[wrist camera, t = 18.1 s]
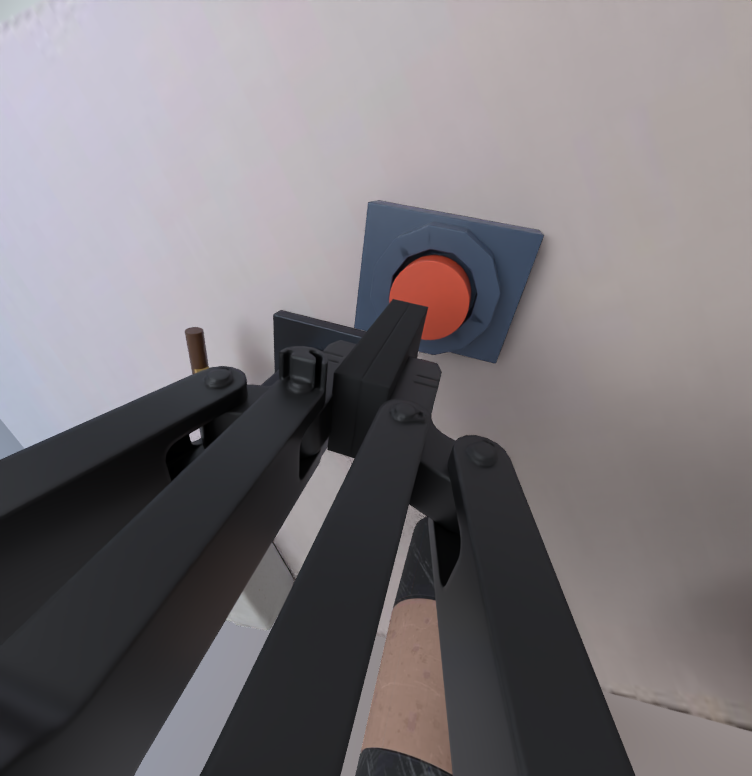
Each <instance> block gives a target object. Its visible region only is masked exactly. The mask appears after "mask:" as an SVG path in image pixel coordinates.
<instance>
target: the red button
mask: <svg viewBox="0 0 752 776" xmlns="http://www.w3.org/2000/svg"><path fill="white" fill-rule="evenodd" d="M392 299H396V300H400V301H405V302H409V303H413V304H418V305H422V306H426V307H428V311H427V315H426V320H425V324H424V328H423V333H422V337H421V339H423V340H436V339H441V338H444V337H446V336H448V335H450V334H452V333H453V332H454V331H456V330H457V329H458V328H459V327H460V326H461V324H462V323H463V321H464V320H465V318H466V316H467V313H468V309H469V304H470V299H471V285H470V281H469V278H468V276H467V274H466V272H465V271H464V269H463V268H462V267H461V266H460V265H459V264H458V263H456V262H455V261H453V260H452V259H450V258H447V257H444V256H440V255H427V256H423V257H420V258H418V259H416V260H414V261H413V262H411V263H410V264H409V265H408V266H407V267H406V268H405V269H404V270H403V271H402V272H401V273H400V274H399V275H398V276H397V277H396V279H395V281H394V282H393V284H392V287H391V290H390V296H389V303H390V302H391V301H392Z"/></svg>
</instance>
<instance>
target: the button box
mask: <svg viewBox="0 0 752 776" xmlns="http://www.w3.org/2000/svg"><path fill="white" fill-rule="evenodd" d="M543 237H544V235H543V234H542V233H541V231H540V230H536V229H531V228H525V227H520V226H515V225H509V224H504V223H498V222H493V221H488V220H482V219H477V218H472V217H466V216H461V215H455V214H450V213H445V212H439V211H434V210H428V209H423V208H418V207H412V206H407V205H401V204H396V203H391V202H385V201H380V200H378V201H372V202H368V209H367V218H366V227H365V236H364V245H363V254H362V263H361V272H360V281H359V289H358V298H357V307H356V316H355V325H354V328H356V329H360V330H364V331H368V329H369V328H370V327H371V326H372V324H373V323H374V322H375V321H376V319H377V318H378V317H379V316H380V314H381V313H382V312H383V311H384V309H385V308H386V307H387V306H388V304H389V296H390V290H391V287H392V284H393V282H394V281H395V279H396V277H397V276H398V275H399V274H400V273H401V272H402V271H403V270H404V269H405V268H406V267H407V266H408V265H409V264H410V263H411V262H413V261H414V260H416V259H418V258H420V257H423V256H427V255H440V256H444V257H447V258H450V259H452V260H453V261H455V262H456V263H458V264H459V265H460V266H461V267H462V268H463V269H464V271H465V272H466V274H467V276H468V278H469V281H470V285H471V299H470V304H469V309H468V313H467V316H466V318H465V320H464V321H463V323H462V324H461V326H460V327H459V328H458V329H457V330H456V331H454V332H453V333H452V334H450V335H448V336H446V337H444V338H441V339H436V340H423V339H421V341H420V346H419V350H418V351H420V352H424V353H428V354H431V355H436V354H441V353H445V352H451V353H455V354H459V355H463V356H467V357H471V358H475V359H479V360H483V361H487V362H491V363H496V362H497V359H498V356H499V354H500V351H501V348H502V346H503V343H504V341H505V338H506V335H507V333H508V330H509V327H510V325H511V322H512V319H513V317H514V314H515V311H516V309H517V306H518V303H519V301H520V298H521V295H522V293H523V290H524V287H525V285H526V282H527V279H528V277H529V274H530V271H531V269H532V266H533V264H534V261H535V258H536V256H537V253H538V250H539V248H540V245H541V242H542V240H543Z"/></svg>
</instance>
